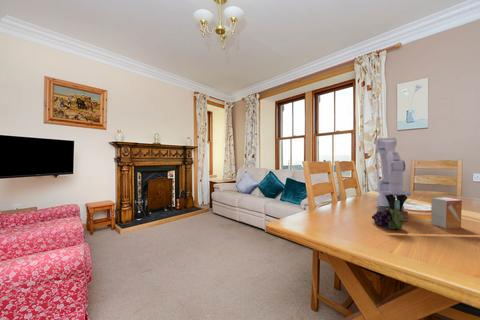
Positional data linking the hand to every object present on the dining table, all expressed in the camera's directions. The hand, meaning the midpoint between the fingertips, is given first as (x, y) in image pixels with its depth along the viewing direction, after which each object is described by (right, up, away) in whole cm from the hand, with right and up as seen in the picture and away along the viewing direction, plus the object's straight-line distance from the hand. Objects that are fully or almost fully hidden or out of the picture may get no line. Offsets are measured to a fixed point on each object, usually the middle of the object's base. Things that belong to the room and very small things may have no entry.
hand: (395, 209), depth 106 cm
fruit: (-16, -5, -17) cm, 23 cm away
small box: (+11, -5, -15) cm, 19 cm away
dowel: (0, -2, 0) cm, 2 cm away
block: (0, -3, 0) cm, 3 cm away
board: (0, -4, -4) cm, 6 cm away
